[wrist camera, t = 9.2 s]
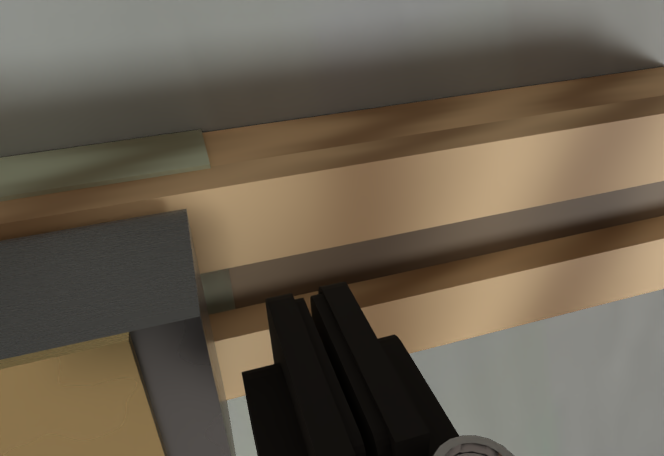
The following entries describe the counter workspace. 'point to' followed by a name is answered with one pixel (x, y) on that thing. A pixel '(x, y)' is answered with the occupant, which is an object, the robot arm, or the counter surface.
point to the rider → (109, 344)
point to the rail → (391, 208)
